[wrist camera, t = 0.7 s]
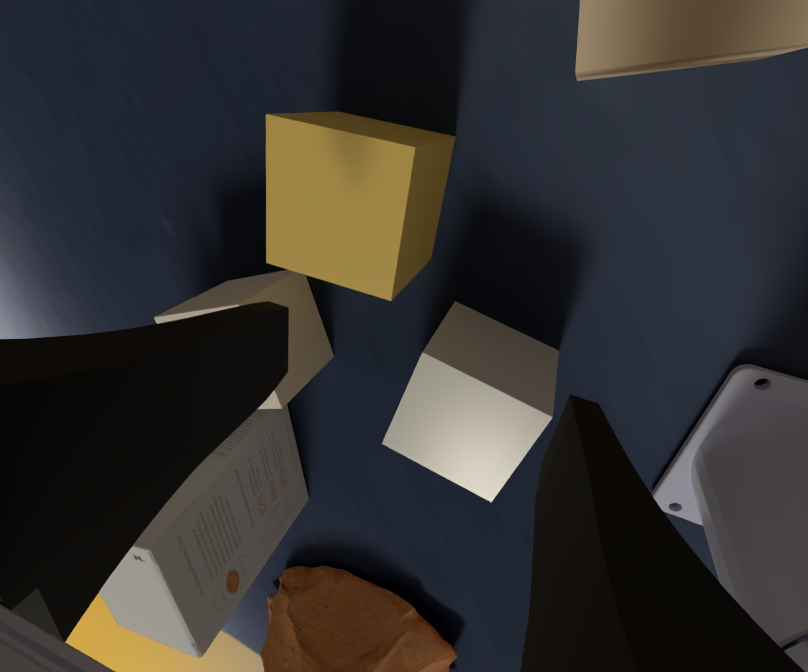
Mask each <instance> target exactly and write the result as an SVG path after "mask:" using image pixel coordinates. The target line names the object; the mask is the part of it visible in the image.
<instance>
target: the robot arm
mask: <svg viewBox="0 0 808 672" xmlns="http://www.w3.org/2000/svg"><path fill="white" fill-rule="evenodd" d="M288 341H289V307H286V306H283V305H280V304H276V303H273V302H270V301H266V302H258V303H252V304H247V305H242V306H237V307H233V308H228V309H224V310H219V311H215V312H211V313H206V314H202V315H197V316H193V317H189V318H184V319H179V320H174V321H169V322H164V323H159V324H154V325H148V326H143V327H137V328H131V329H125V330H118V331H110V332H102V333H94V334H85V335H73V336H59V337H45V338H30V339H0V672H115V671H113V670H111V669H110V668H108V667H106V666H104V665H103V664H101V663H99V662H98V661H96V660H94V659H92V658H91V657H89V656H87V655H86V654H84V653H82V652H80V651H79V650H77V649H75V648H74V647H72V646H70V645H69V644H66V643H65V641H66V640H67V638H68V637H69V635H70V634H71V632H72V630H73V629H74V627H75V626H76V625H77V623H78V621H79V620H80V619H81V617H82V616H83V614H84V613H85V611H86V610H87V608H88V607H89V606H90V604H91V602H92V601H93V600H94V598H95V597H96V596H97V594H98V593H99V591H100V590H101V588H102V587H103V585H104V584H105V583H106V581H107V580H108V578H109V577H110V576H111V574H112V573H113V572H114V570H115V569H116V568H117V566H118V565H119V563H120V562H121V561H122V559H123V558H124V557H125V555H126V554H127V553H128V551H129V550H130V549H131V547H132V546H133V545H134V543H135V542H136V541H137V539H138V538H139V537H140V535H141V534H142V533H143V532H144V530H145V529H146V528H147V527H148V525H149V524H150V523H151V522H152V520H153V519H154V518H155V517H156V515H157V514H158V513H159V512H160V510H161V509H162V508H163V507H164V505H165V504H166V503H167V502H168V500H169V499H170V498H171V497H172V496H173V495H174V493H175V492H176V491H177V490H178V489H179V488H180V486H181V485H182V484H183V483H184V482H185V480H186V479H187V478H188V477H189V476H190V475H191V473H192V472H193V471H194V470H195V469H196V468H197V467H198V466H199V465H200V464H201V463H202V462H203V461H204V460H205V459H206V458H207V457H208V456H209V455H210V454H211V453H212V452H213V451H214V450H215V449H216V448H217V447H218V446H219V445H220V444H221V443H222V442H223V441H224V440H226V439H227V438H228V437H229V436H230V435H231V434H232V433H233V432H234V431H235V430H236V429H237V428H238V427H239V426H240V425H241V424H242V423H243V422H244V421H245V420H247V419H248V418H249V417H250V416H251V415H252V414H253V413H254V412H255V411H256V410H257V409H258V408H259V407H260V406H261V405H262V404H263V403H264V402H265V401H266V400H267V399H268V397H269V396H270V395H271V394H272V392H273V391H274V390H275V389H276V387H277V386H278V385H279V383H280V382H281V381H282V379H283V378H284V377H285V375H286V374H287V373H288ZM762 378H764V379H768V380H767V382H766V383H764V384H762V385H755V384H754V383H755V382H756V381H757V380H758V379H762ZM671 503H678V505H671ZM663 511H664V512H667V513H670V514H673V515H675V516H678V517H681V518H684V519H686V520H689V521H692V522H695V523H697V524H700V525H703V526H704V530H705V533H706V537H707V540H708V544H709V547H710V551H711V554H712V558H713V561H714V565H715V568H716V572H717V575H718V579H719V581H718V580H717V579H716V578H715V577H714V575H713V574H712V573H711V572H710V571H709V570H708V569H707V567H706V566H705V565H704V564H703V563H702V561H701V560H700V559H699V558H698V556H697V555H696V554H695V553H694V551H693V550H692V549H691V548H690V546H689V545H688V544H687V543H686V541H685V540H684V539H683V538H682V536H681V535H680V534H679V533H678V531H677V530H676V529H675V527H674V526H673V525H672V523H671V522H670V520H669V519H668V518H667V516H666V515H665V514H664V512H663ZM520 672H808V380H804V379H801V378H797V377H794V376H790V375H787V374H783V373H780V372H776V371H773V370H769V369H766V368H762V367H759V366H755V365H750V364H743V365H739V366H737V367H735V368H734V369H733V370H732V371H731V372H730V374H729V375H728V377H727V378H726V380H725V381H724V383H723V384H722V386H721V387H720V389H719V390H718V392H717V393H716V395H715V396H714V398H713V400H712V401H711V403H710V404H709V406H708V407H707V409H706V410H705V412H704V413H703V415H702V416H701V418H700V419H699V421H698V422H697V424H696V426H695V427H694V429H693V430H692V432H691V433H690V435H689V436H688V438H687V439H686V441H685V442H684V444H683V445H682V447H681V448H680V450H679V451H678V453H677V455H676V456H675V458H674V459H673V461H672V462H671V464H670V465H669V467H668V468H667V470H666V471H665V473H664V474H663V476H662V477H661V479H660V481H659V482H658V484H657V485H656V487H655V488H654V490H653V491H652V493H650V492H649V490H648V489H647V487H646V486H645V484H644V483H643V481H642V479H641V478H640V476H639V475H638V473H637V472H636V470H635V468H634V467H633V465H632V463H631V462H630V460H629V458H628V457H627V455H626V453H625V451H624V450H623V448H622V446H621V444H620V442H619V441H618V439H617V437H616V435H615V433H614V431H613V430H612V428H611V426H610V424H609V422H608V420H607V418H606V417H605V415H604V413H603V411H602V409H601V407H600V406H599V404H598V403H595V402H592V401H589V400H585V399H582V398H579V397H576V396H573V395H570V396H569V399H568V401H567V403H566V406H565V408H564V411H563V413H562V415H561V418H560V420H559V423H558V425H557V427H556V430H555V432H554V435H553V437H552V440H551V442H550V444H549V447H548V449H547V452H546V454H545V456H544V459H543V462H542V467H541V473H540V478H539V483H538V489H537V495H536V504H535V521H534V540H533V561H532V581H531V598H530V608H529V618H528V625H527V631H526V638H525V644H524V651H523V658H522V664H521V670H520Z"/></svg>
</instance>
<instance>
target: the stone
mask: <svg viewBox="0 0 808 672" xmlns="http://www.w3.org/2000/svg"><path fill="white" fill-rule="evenodd" d="M279 580H280V582H281V583H280V585H279V589H278V592H277V594H273V593H272V594H270V595H269V596H268V598H267V601H268V604H269V605H268V610H269V629H268V636H267V640H266V642H265V644H264V646H263V648H262V650H261V658H262V662H263V666H264V671H265V672H449V666H450V664H451V663H452V662H453V661H454V660H455V657H456V656H457V654H456V651H455V650H454V649H453V647H452V646H451V645H450V644H449V643H448V642H447V641H445V640H444V639H443V638H442V637H441V636H440V635H439V633H438V632H437V631H436V630H435V629H434V628H433V627H432V626H431V625H430V624H429V623H428V622H427V621H426V620H424V619H423V618H422V617H421V616H420V615H419V614H418V613H417V612H416V609H415V608H414V607H413V606H412V605H411V604H410V603H408V602H406V601H405V600H403V599H402V598H400V597H399V596H397V595H396V594H394V593H393V592H391V591H389V590H387V589H383V588H380V587H378V586H376V585H375V584H373V583H370V582H368V581H365V580H363V579H361V578H359V577H357V576H355V575H353V574H351V573H349V572H348V571H345V570H342V569H335V568H331V567H327V566H324V565H323V566H319V567H316V568H315V567H312V568H307V567H303V566H295V567H292V568H289V569H285V571H284V572H283V574H282V576H281V577H280V578H279Z"/></svg>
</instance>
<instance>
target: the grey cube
mask: <svg viewBox="0 0 808 672" xmlns="http://www.w3.org/2000/svg"><path fill="white" fill-rule="evenodd" d="M558 354H559V351H558V350H556V349H554V348H552V347H550V346H548V345H546V344H544V343H542V342H539V341H537V340H535V339H533V338H531V337H529V336H527V335H525V334H523V333H521V332H519V331H516V330H514V329H512V328H510V327H508V326H506V325H504V324H502V323H500V322H498V321H496V320H494V319H491V318H489V317H487V316H485V315H483V314H481V313H479V312H477V311H475V310H473V309H471V308H468V307H466V306H464V305H462V304H460V303H458V302H456V301H455V302H454V304H453V305H452V307H451V308H450V310H449V312H448V313H447V315H446V316H445V318H444V319H443V321H442V322H441V324H440V326H439V327H438V329H437V330H436V332H435V333H434V335H433V337H432V338H431V340H430V341H429V343H428V344H427V346H426V347H425V349H424V351H423V352H422V354H421V357H420V359H419V361H418V363H417V366H416V368H415V370H414V373H413V375H412V377H411V379H410V382H409V384H408V386H407V388H406V391H405V393H404V395H403V397H402V400H401V402H400V404H399V406H398V409H397V411H396V413H395V416H394V418H393V420H392V422H391V425H390V427H389V429H388V431H387V434H386V436H385V438H384V440H383V443H382V444H383V445H385V446H387V447H389V448H391V449H393V450H395V451H396V452H398V453H400V454H402V455H404V456H406V457H408V458H410V459H411V460H413V461H415V462H417V463H419V464H421V465H423V466H425V467H426V468H428V469H430V470H432V471H434V472H436V473H438V474H439V475H441V476H443V477H445V478H447V479H449V480H451V481H453V482H454V483H456V484H458V485H460V486H462V487H464V488H466V489H468V490H469V491H471V492H473V493H475V494H477V495H479V496H481V497H482V498H484V499H486V500H488V501H490V502H492V501H493V499H494V498H495V497H496V495H497V494H498V492H499V491H500V490H501V488H502V487H503V485H504V484H505V483H506V481H507V480H508V478H509V477H510V476H511V474H512V473H513V472H514V470H515V469H516V467H517V466H518V465H519V463H520V462H521V460H522V459H523V458H524V456H525V455H526V454H527V452H528V451H529V449H530V448H531V447H532V445H533V444H534V442H535V441H536V440H537V438H538V437H539V436H540V434H541V433H542V431H543V430H544V429H545V427H546V426H547V424H548V423H549V422H550V420H551V419H552V417H553V408H554V397H555V386H556V375H557V364H558Z"/></svg>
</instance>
